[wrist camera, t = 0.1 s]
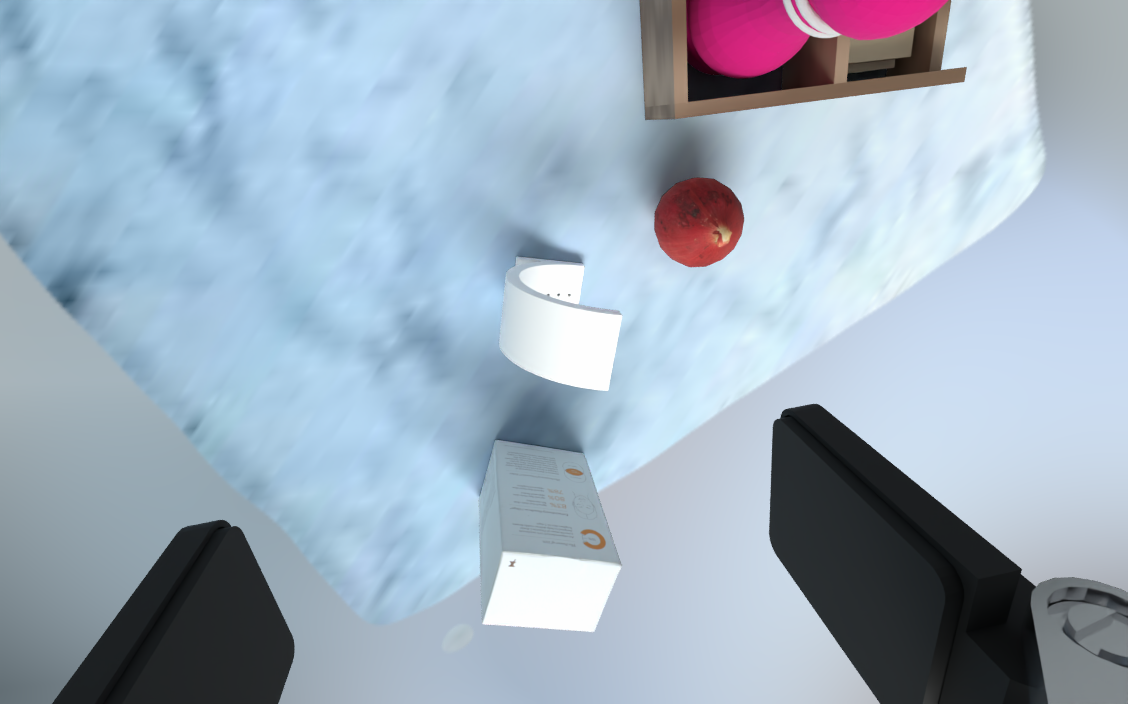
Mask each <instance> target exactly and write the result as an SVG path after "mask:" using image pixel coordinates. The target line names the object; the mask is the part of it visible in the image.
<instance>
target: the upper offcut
mask: <svg viewBox="0 0 1128 704" xmlns="http://www.w3.org/2000/svg"><path fill="white" fill-rule="evenodd" d="M914 29H915V27H913V28H911V29H909V30H907V31H905V32H903V33H900V34H897V35H894V36H891V37H888V38H882V39H874V40H856V39H853V38H850V49H849V61H848V65H849V64H857V63H866V62H875V61H884V60H892V59H898V58H905V57H911V52H912V44H913V37H914Z"/></svg>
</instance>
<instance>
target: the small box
mask: <svg viewBox="0 0 1128 704" xmlns="http://www.w3.org/2000/svg"><path fill="white" fill-rule="evenodd" d="M479 538H480V577H481V608H482V624H488V625H489V624H490V625H504V626H518V627H533V628H545V629H560V630H573V631H587V632H594V630H595V628H596V626H597V623H598V621H599V618H600V616H601V613H602V611H603V608H604V606H605V603H606V601H607V599H608V597H609V594H610V592H611V589H612V587H613V585H614V582H615V580H616V577H617V575H618V573H619V571H620V568H621V566H622V564H621V562H620V559H619V556H618V553H617V550H616V547H615V544H614V541H613V538H612V535H611V532H610V530H609V526H608V523H607V520H606V517H605V514H604V512H603V509H602V506H601V503H600V499H599V496H598V493H597V490H596V487H595V484H594V481H593V478H592V475H591V472H590V469H589V466H588V464H587V461H586V458H585V455H584V453H578V452H572V451H566V450H559V449H553V448H547V447H541V446H534V445H528V444H521V443H514V442H508V441H502V440H495V442H494V446H493V450H492V454H491V457H490V461H489V465H488V469H487V472H486V476H485V479H484V483H483V486H482V490H481V494H480V497H479Z"/></svg>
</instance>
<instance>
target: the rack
mask: <svg viewBox="0 0 1128 704" xmlns="http://www.w3.org/2000/svg"><path fill="white" fill-rule="evenodd" d="M950 5H951V0H948V1H947V2H946V3H945V4H944V5H943V6H942V7H941V8H940V9H939V10H938V11H937V12H936V13H934V14H933V15H932V16H930V17H929V18H928V19H926V20H925V21H924V22H922V23H921V24H919V25H917V26H915V29H914V37H913V44H912V52H911V57H905V58H898V59H895V67H894V68H888V69H887V71H886V77H881V78H873V79H865V80H857V81H849V82H847V72H848V61H849V49H850V37H847V36H844V35H840V36H836V37H832V38H818V37H813V36H811V35H810V36H809V38H808V40H807V41H806V43H805V44H804V45H803V46H802V48H801V49H800V50H799V51H798V52H797V53H796V54H795V55H794V56H793V57H792V58H791V59H789V60H788V61H787V62H786V63H784V64H783V69H782V90H777V91H769V92H761V93H753V94H745V95H737V96H729V97H722V98H714V99H706V100H698V101H690V102H688V79H687V27H686V0H640V19H641V39H642V60H643V80H644V101H645V120H658V119H678V118H686V117H694V116H702V115H710V114H717V113H725V112H733V111H741V110H748V109H756V108H764V107H772V106H780V105H787V104H795V103H803V102H811V101H819V100H826V99H834V98H842V97H850V96H858V95H865V94H873V93H881V92H889V91H896V90H904V89H912V88H920V87H928V86H935V85H943V84H951V83H959V82H964V80H965V74H966V68H967V67H964V68H955V69H947V70H941V65H942V58H943V52H944V45H945V38H946V32H947V25H948V18H949V12H950Z"/></svg>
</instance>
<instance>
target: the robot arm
mask: <svg viewBox="0 0 1128 704" xmlns="http://www.w3.org/2000/svg"><path fill="white" fill-rule="evenodd" d="M769 527H770V528H769V535H770V541H771V544H772V547H773V549H774V551H775V553H776V555H777V557H778V558H779V559H780V561H781V562H782V564H783V565H784V566H785V568H786V569H787V571H788V572H789V573H790V575H791V576H792V578H793V579H794V581H795V582H796V584H797V585H798V586H799V588H800V590H801V591H802V592H803V594H804V595H805V597H806V598H807V600H808V601H809V602H810V604H811V605H812V607H813V608H814V609H815V611H816V612H817V614H818V615H819V617H820V618H821V619H822V621H823V622H824V624H825V625H826V627H827V628H828V630H829V631H830V632H831V634H832V635H833V637H834V638H835V640H836V641H837V642H838V644H839V645H840V647H841V648H842V650H843V651H844V652H845V654H846V655H847V657H848V658H849V660H850V661H851V662H852V664H853V665H854V667H855V668H856V670H857V671H858V672H859V674H860V675H861V677H862V678H863V680H864V681H865V682H866V684H867V685H868V687H869V688H870V690H871V691H872V692H873V694H874V695H875V697H876V698H877V700H878V701H879V703H880V704H1128V592H1126V591H1124V590H1122V589H1119V588H1116V587H1113V586H1110V585H1107V584H1104V583H1101V582H1097V581H1093V580H1087V579H1081V578H1074V577H1068V578H1053V579H1050V580H1047V581H1044V582H1041V583H1039V584H1038V586H1037V587H1036V586H1034V585H1033V584H1032V583H1031V582H1030V581H1028V580H1027V579H1026V578H1024V576H1022V575H1021V571H1022V569H1021V568H1020V567H1018V566H1017V565H1016V564H1015V563H1014V562H1012V561H1011V560H1010V559H1009V558H1007V557H1006V556H1005V555H1004V554H1002V553H1001V552H1000V551H999V550H998V549H996V548H995V547H994V546H993V545H991V544H990V543H989V542H988V541H987V540H985V539H984V538H983V537H982V536H980V535H979V534H978V533H977V532H975V531H974V530H973V529H972V528H971V527H969V526H968V525H967V524H966V523H964V522H963V521H962V520H961V519H959V518H958V517H957V516H956V515H955V514H953V513H952V512H951V511H950V510H948V509H947V508H946V507H945V506H943V505H942V504H941V503H940V502H939V501H937V500H936V499H935V498H934V497H932V496H931V495H930V494H929V493H928V492H926V491H925V490H924V489H923V488H921V487H920V486H919V485H918V484H916V483H915V482H914V481H913V480H911V479H910V478H909V477H908V476H907V475H905V474H904V473H903V472H902V471H900V470H899V469H898V468H897V467H895V466H894V465H893V464H892V463H891V462H889V461H888V460H887V459H886V458H885V457H883V456H882V455H881V454H879V453H878V452H877V451H876V450H875V449H873V448H872V447H871V446H870V445H869V444H867V443H866V442H865V441H864V440H862V439H861V438H860V437H859V436H857V435H856V434H855V433H854V432H852V431H851V430H850V429H849V428H848V427H846V426H845V425H844V424H843V423H841V422H840V421H839V420H838V419H836V418H835V417H834V416H833V415H832V414H830V413H829V412H828V411H827V410H825V409H824V408H823V407H822V406H820V405H818V404H810V405H805V406H800V407H795V408H789V409H785V410H784V411H783V412H782V414H781V418H780V419H777V420H775V421H774V424H773V439H772V470H771V498H770V526H769ZM293 658H294V640H293V637H292V634H291V632H290V630H289V628H288V626H287V624H286V622H285V619H284V617H283V616H282V613H281V611H280V609H279V607H278V605H277V603H276V601H275V599H274V597H273V594H272V592H271V590H270V588H269V586H268V584H267V582H266V580H265V578H264V575H263V574H262V572H261V569H260V567H259V565H258V563H257V561H256V559H255V557H254V555H253V552H252V550H251V548H250V546H249V544H248V542H247V540H246V538H245V536H244V534H243V532H242V530H241V529H240V528H239V527H237V526H233V527H231V525H230V524H229V523H228V522H227V521H225V520H217V521H212V522H208V523H202V524H198V525H192V526H187V527H185V528H182V529H181V530H180V531H179V532H178V533H177V534H176V536H175V537H174V539H173V540H172V541H171V543H170V544H169V545H168V547H167V548H166V549H165V551H164V552H163V553H162V555H161V556H160V557H159V559H158V560H157V562H156V563H155V564H154V566H153V567H152V569H151V570H150V571H149V572H148V574H147V575H146V577H145V578H144V579H143V581H142V582H141V583H140V585H139V586H138V588H137V589H136V590H135V592H134V593H133V594H132V596H131V597H130V598H129V600H128V601H127V602H126V604H125V605H124V606H123V608H122V609H121V611H120V612H119V613H118V615H117V616H116V618H115V619H114V620H113V621H112V623H111V624H110V626H109V627H108V628H107V630H106V631H105V632H104V634H103V635H102V636H101V638H100V639H99V641H98V642H97V643H96V645H95V646H94V647H93V649H92V650H91V652H90V653H89V654H88V656H87V657H86V658H85V660H84V661H83V662H82V664H81V665H80V667H79V668H78V669H77V671H76V672H75V673H74V675H73V676H72V678H71V679H70V680H69V682H68V683H67V684H66V686H65V687H64V688H63V690H62V691H61V692H60V694H59V695H58V696H57V698H56V699H55V700H54V702H53V703H52V704H278V702H279V700H280V697H281V694H282V691H283V688H284V685H285V682H286V679H287V677H288V674H289V670H290V668H291V664H292V662H293Z"/></svg>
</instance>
